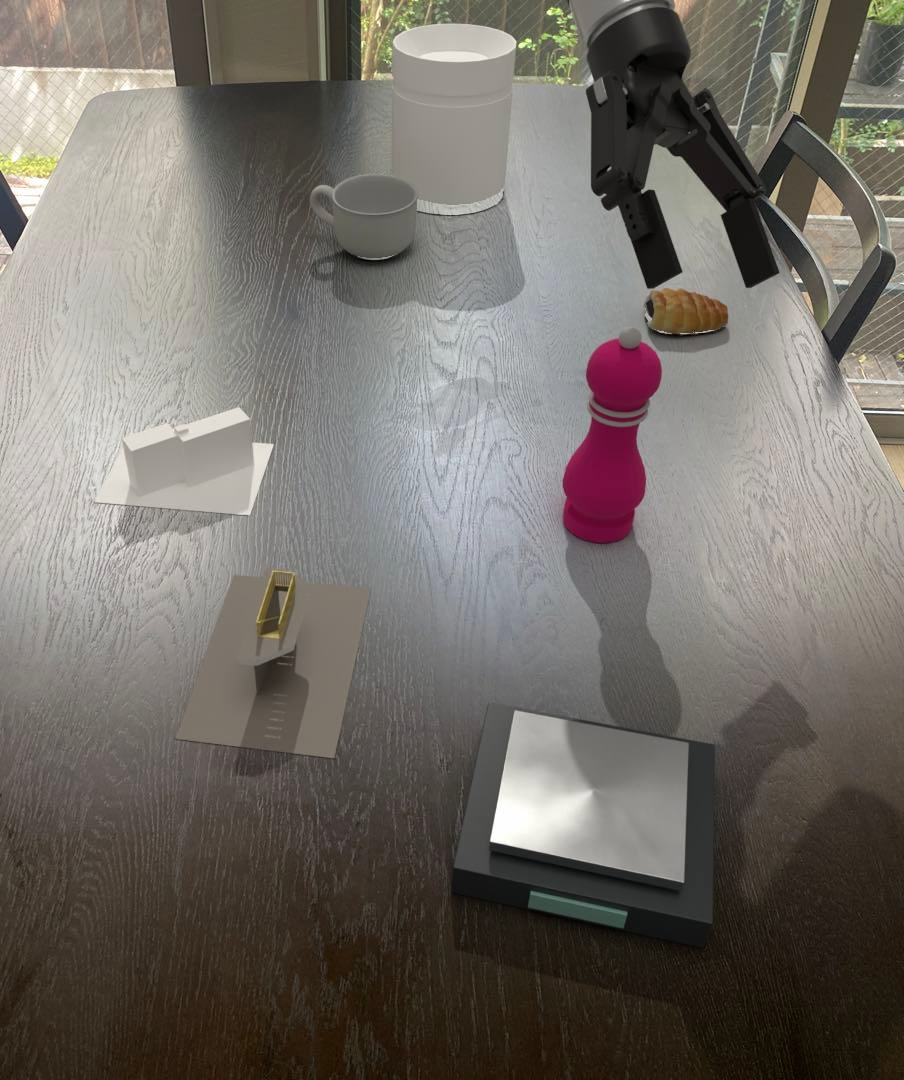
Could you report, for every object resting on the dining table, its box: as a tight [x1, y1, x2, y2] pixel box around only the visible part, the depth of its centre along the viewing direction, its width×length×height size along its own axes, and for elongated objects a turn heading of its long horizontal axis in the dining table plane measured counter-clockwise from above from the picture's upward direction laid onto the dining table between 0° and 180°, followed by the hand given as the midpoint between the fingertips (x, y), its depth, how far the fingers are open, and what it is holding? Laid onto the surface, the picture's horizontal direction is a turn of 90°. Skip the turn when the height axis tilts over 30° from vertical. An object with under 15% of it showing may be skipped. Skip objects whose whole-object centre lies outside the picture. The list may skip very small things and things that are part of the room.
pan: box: [489, 710, 689, 891], centre depth 71 cm, size 12×11×1 cm
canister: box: [390, 23, 518, 205], centre depth 146 cm, size 16×16×20 cm
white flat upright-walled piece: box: [94, 406, 275, 516], centre depth 102 cm, size 15×11×6 cm
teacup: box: [309, 173, 418, 258], centre depth 137 cm, size 14×11×8 cm
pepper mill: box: [562, 325, 663, 544], centre depth 92 cm, size 7×7×20 cm
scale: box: [450, 702, 716, 949], centre depth 73 cm, size 16×14×3 cm
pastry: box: [643, 287, 729, 335], centre depth 123 cm, size 9×7×4 cm
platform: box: [174, 567, 372, 759], centre depth 84 cm, size 12×18×7 cm, turn 171°
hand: (716, 281), depth 83 cm, fingers open, 13 cm apart
